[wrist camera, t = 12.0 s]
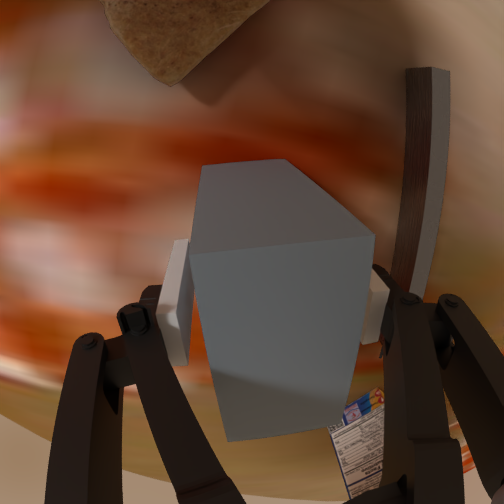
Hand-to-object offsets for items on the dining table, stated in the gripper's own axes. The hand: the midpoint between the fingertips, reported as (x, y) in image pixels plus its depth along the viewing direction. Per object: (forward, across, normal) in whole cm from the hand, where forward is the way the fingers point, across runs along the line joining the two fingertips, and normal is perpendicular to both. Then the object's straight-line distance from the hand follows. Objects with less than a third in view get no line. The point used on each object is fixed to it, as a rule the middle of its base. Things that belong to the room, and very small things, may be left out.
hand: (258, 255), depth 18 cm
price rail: (+4, +12, 0) cm, 12 cm away
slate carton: (+4, 0, 0) cm, 4 cm away
